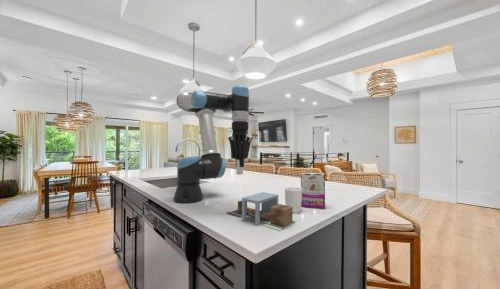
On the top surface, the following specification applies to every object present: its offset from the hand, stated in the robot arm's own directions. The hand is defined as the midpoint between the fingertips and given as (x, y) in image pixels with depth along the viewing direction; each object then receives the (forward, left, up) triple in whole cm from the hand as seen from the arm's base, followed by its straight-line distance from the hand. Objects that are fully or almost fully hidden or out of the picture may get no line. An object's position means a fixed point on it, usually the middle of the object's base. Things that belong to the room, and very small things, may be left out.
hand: (239, 174), depth 97 cm
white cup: (+17, +17, -17) cm, 30 cm away
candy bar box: (+21, +29, -17) cm, 40 cm away
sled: (+14, -1, -16) cm, 21 cm away
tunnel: (+12, -1, -17) cm, 21 cm away
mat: (+22, -1, -17) cm, 27 cm away
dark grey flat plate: (+1, -1, -17) cm, 17 cm away
